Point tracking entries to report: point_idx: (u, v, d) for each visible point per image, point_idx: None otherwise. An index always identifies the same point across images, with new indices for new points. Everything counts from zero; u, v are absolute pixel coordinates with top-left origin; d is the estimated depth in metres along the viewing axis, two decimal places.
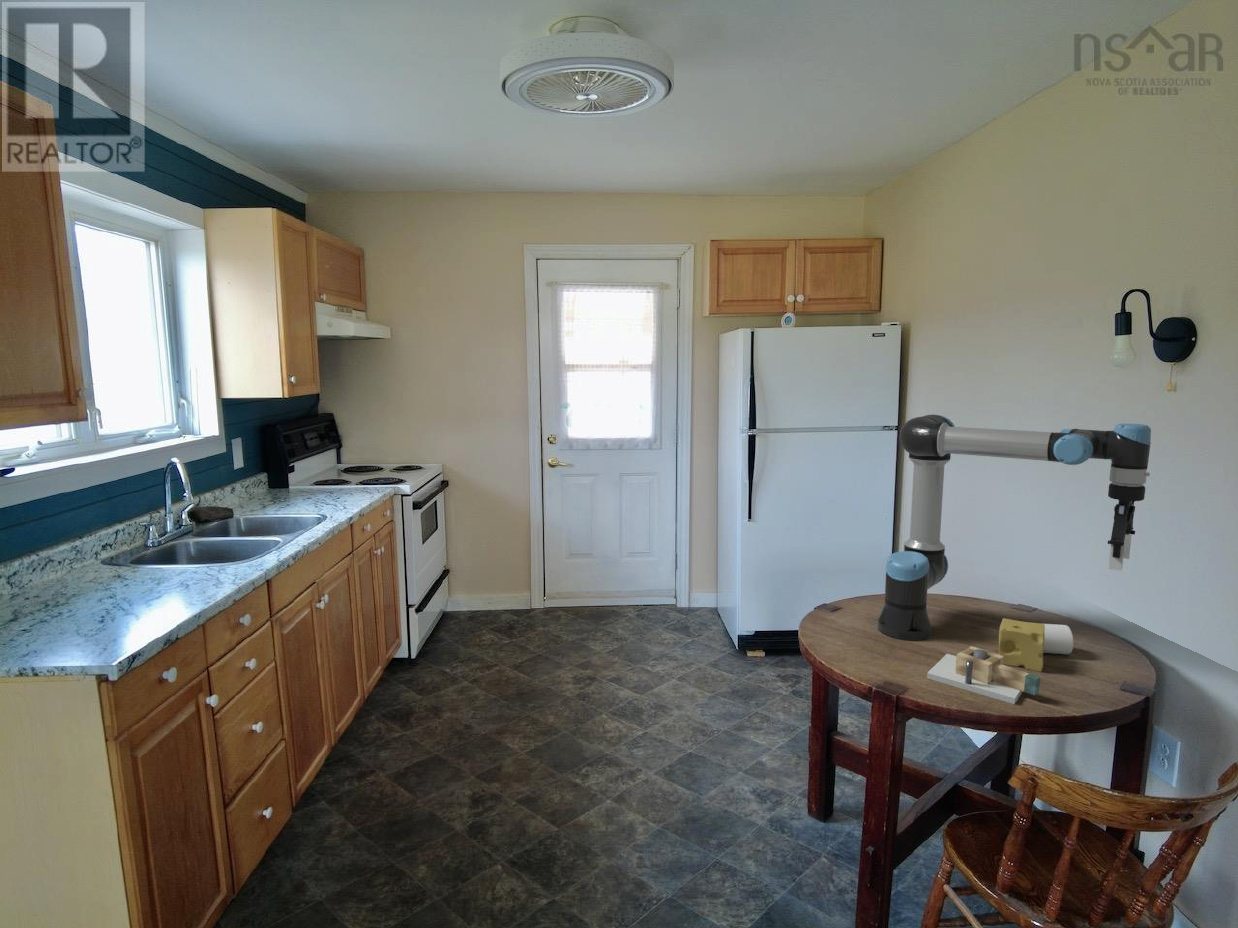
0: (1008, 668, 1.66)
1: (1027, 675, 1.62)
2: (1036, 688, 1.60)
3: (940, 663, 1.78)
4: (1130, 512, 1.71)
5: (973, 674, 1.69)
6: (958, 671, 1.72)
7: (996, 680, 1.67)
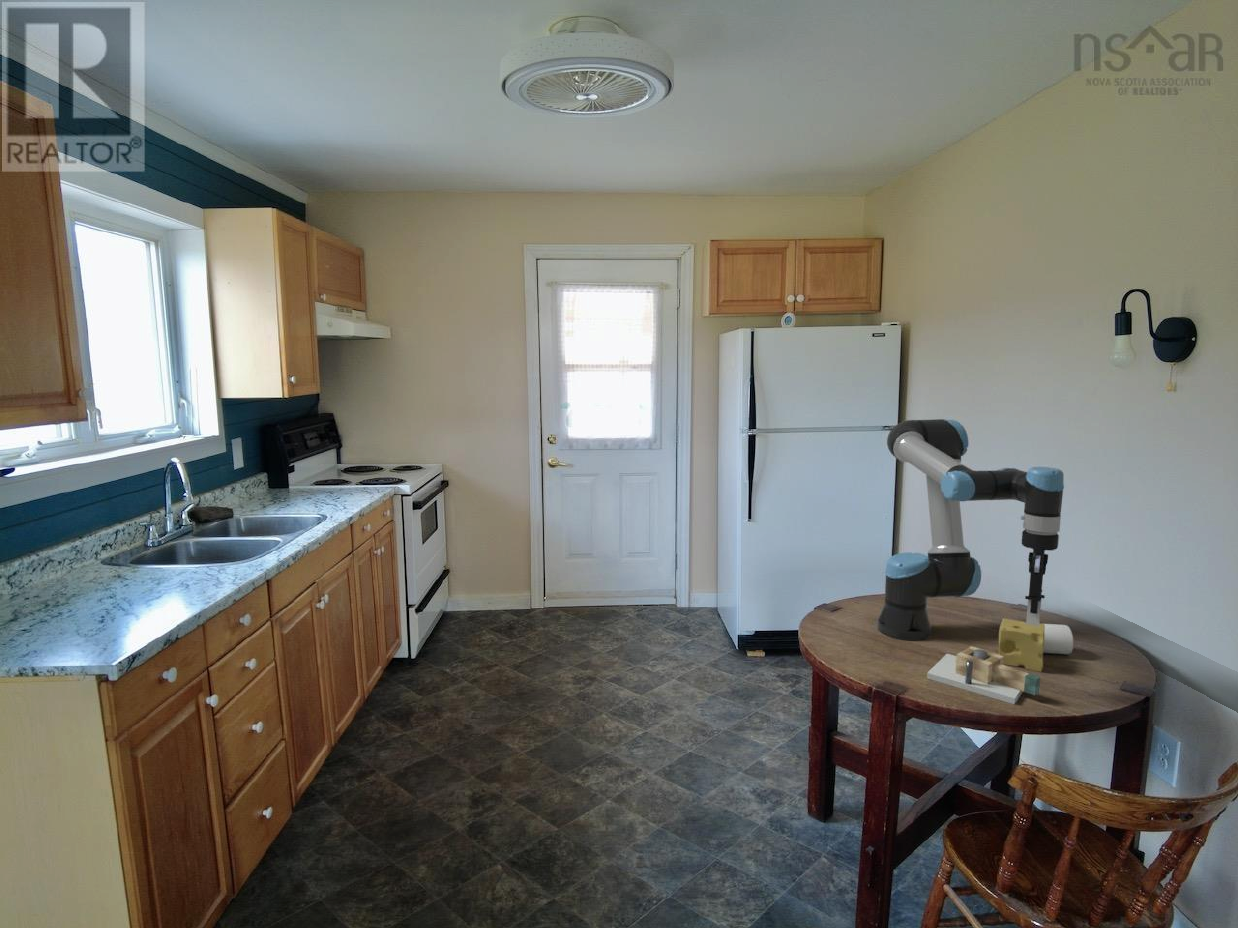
0: (1008, 668, 1.66)
1: (1027, 675, 1.62)
2: (1036, 688, 1.60)
3: (940, 663, 1.78)
4: None
5: (973, 674, 1.69)
6: (958, 671, 1.72)
7: (996, 680, 1.67)
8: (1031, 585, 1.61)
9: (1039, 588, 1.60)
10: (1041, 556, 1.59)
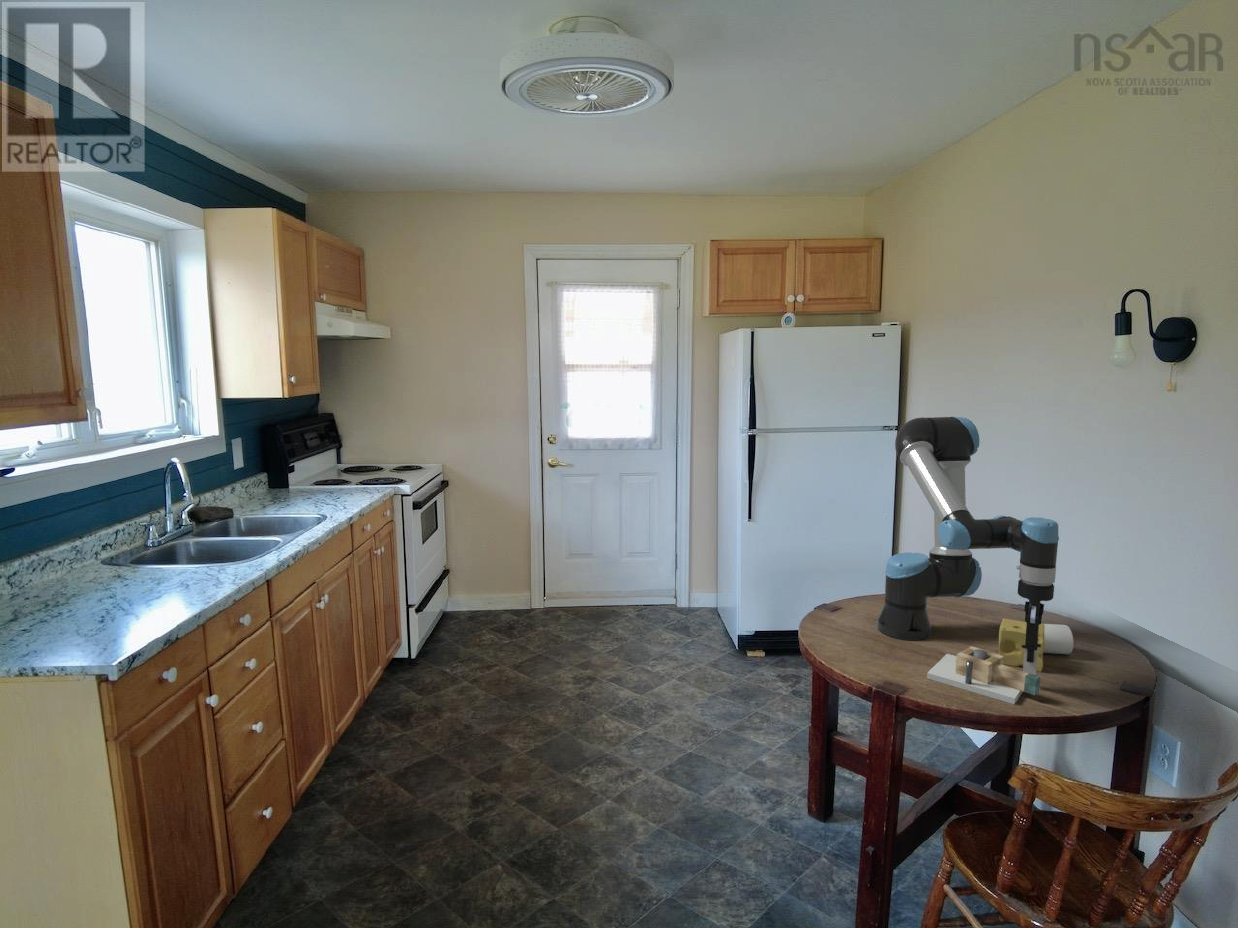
0: (1008, 668, 1.66)
1: (1027, 675, 1.62)
2: (1036, 688, 1.60)
3: (940, 663, 1.78)
4: None
5: (973, 674, 1.69)
6: (958, 671, 1.72)
7: (996, 680, 1.67)
8: (1027, 635, 1.63)
9: (1035, 638, 1.62)
10: (1037, 607, 1.61)
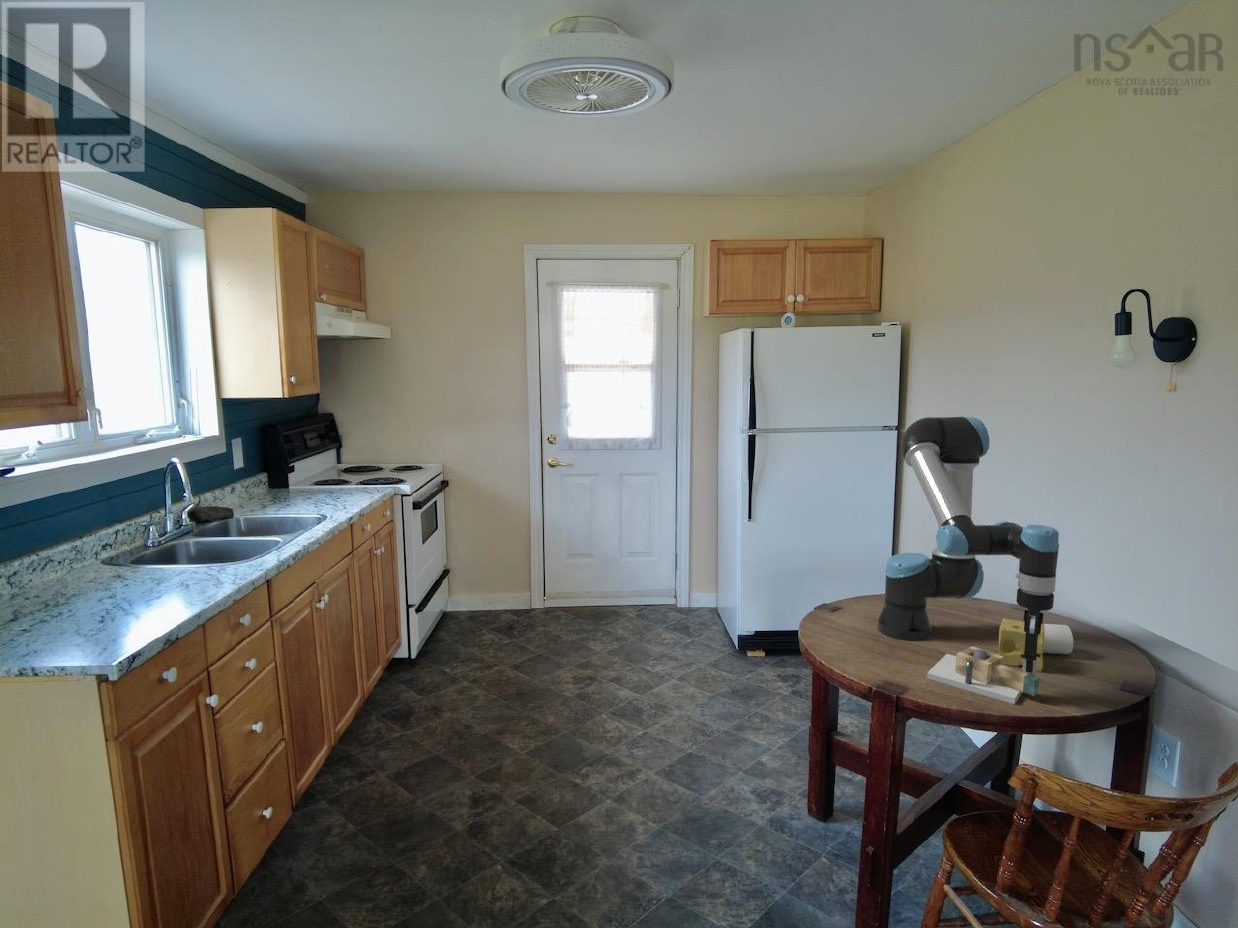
0: (1008, 668, 1.66)
1: (1026, 675, 1.62)
2: (1035, 689, 1.60)
3: (940, 663, 1.78)
4: None
5: (972, 674, 1.69)
6: (958, 670, 1.72)
7: (995, 680, 1.67)
8: (1026, 645, 1.59)
9: (1034, 648, 1.58)
10: (1036, 617, 1.57)
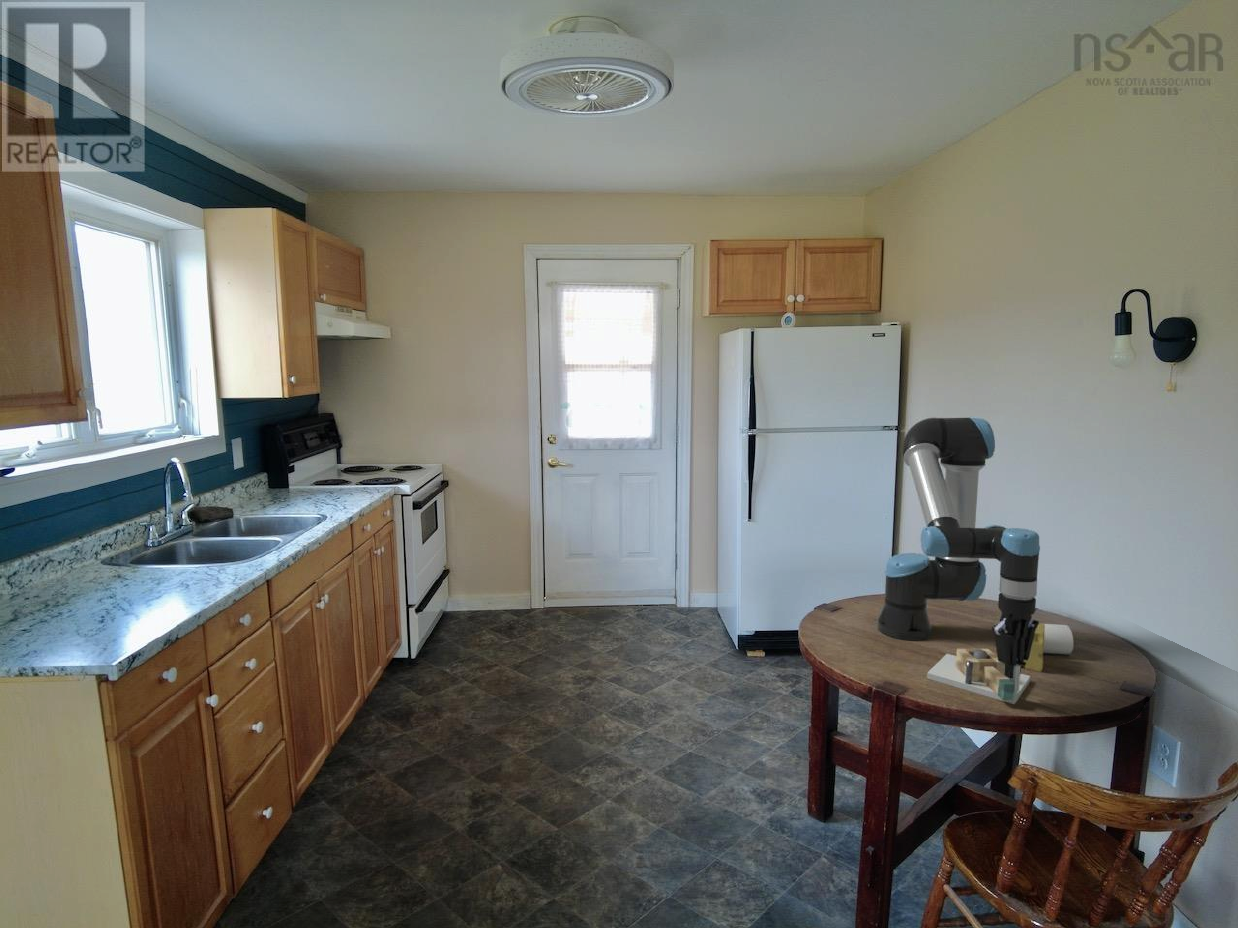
0: (994, 671, 1.64)
1: (1002, 679, 1.60)
2: (1006, 693, 1.58)
3: (940, 663, 1.78)
4: None
5: (964, 670, 1.71)
6: (957, 665, 1.75)
7: (984, 681, 1.67)
8: (997, 647, 1.58)
9: (1004, 651, 1.57)
10: (1006, 619, 1.56)
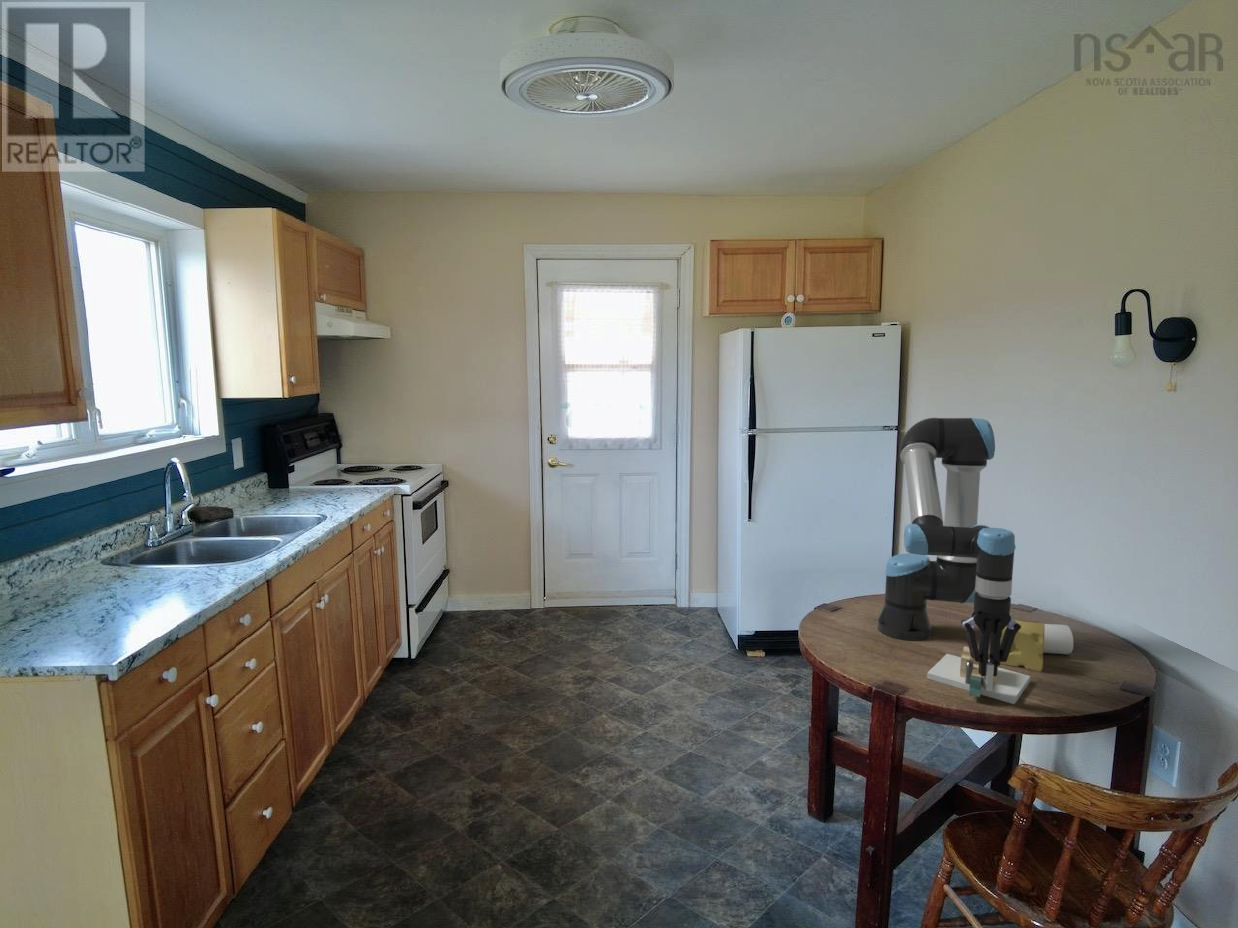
0: (977, 669, 1.65)
1: (974, 675, 1.62)
2: (972, 689, 1.60)
3: (940, 663, 1.78)
4: None
5: None
6: None
7: None
8: (968, 642, 1.61)
9: (971, 647, 1.59)
10: (974, 616, 1.58)
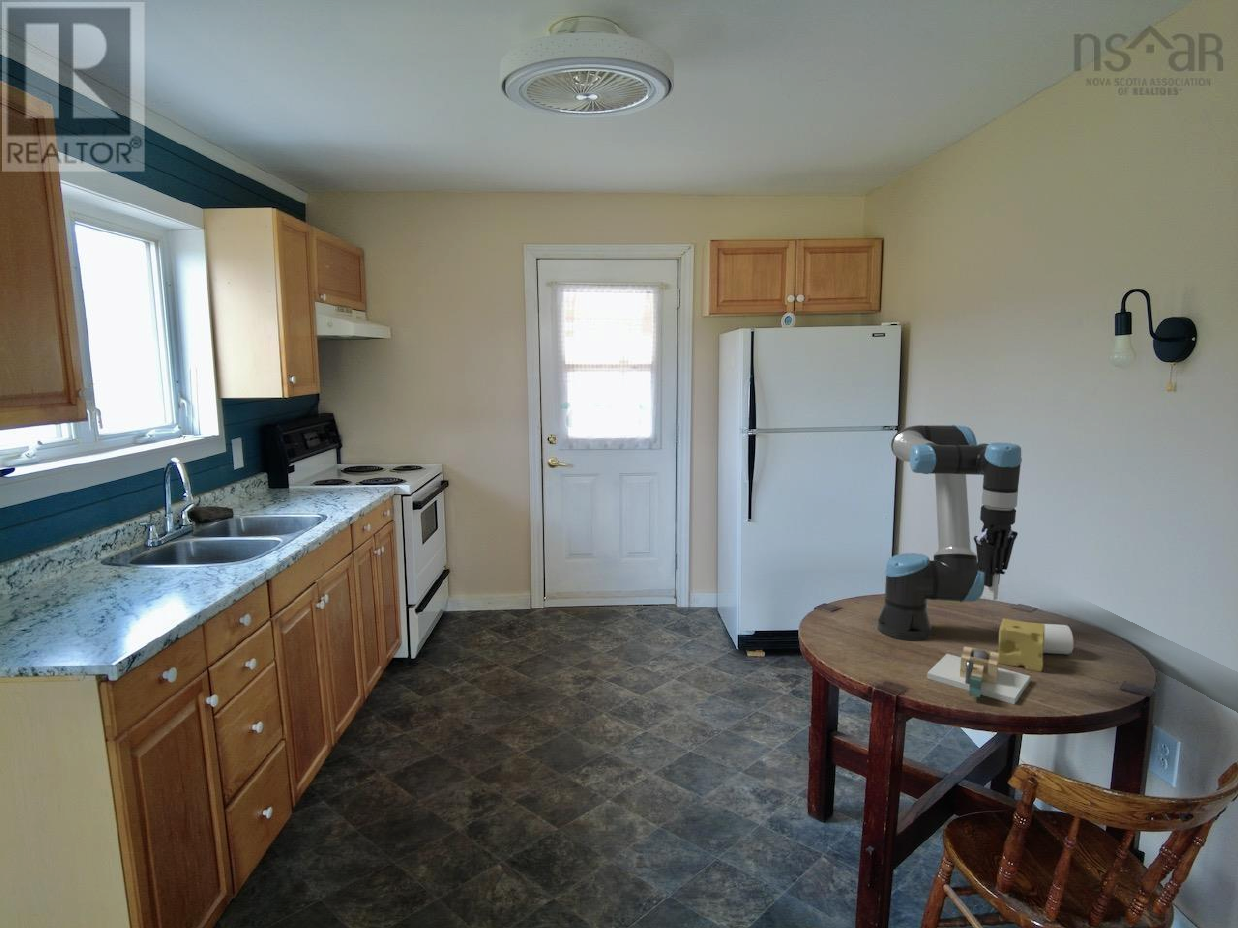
0: (977, 669, 1.65)
1: (974, 675, 1.62)
2: (972, 689, 1.60)
3: (940, 663, 1.78)
4: None
5: None
6: None
7: None
8: (978, 557, 1.65)
9: (984, 561, 1.63)
10: (987, 530, 1.62)
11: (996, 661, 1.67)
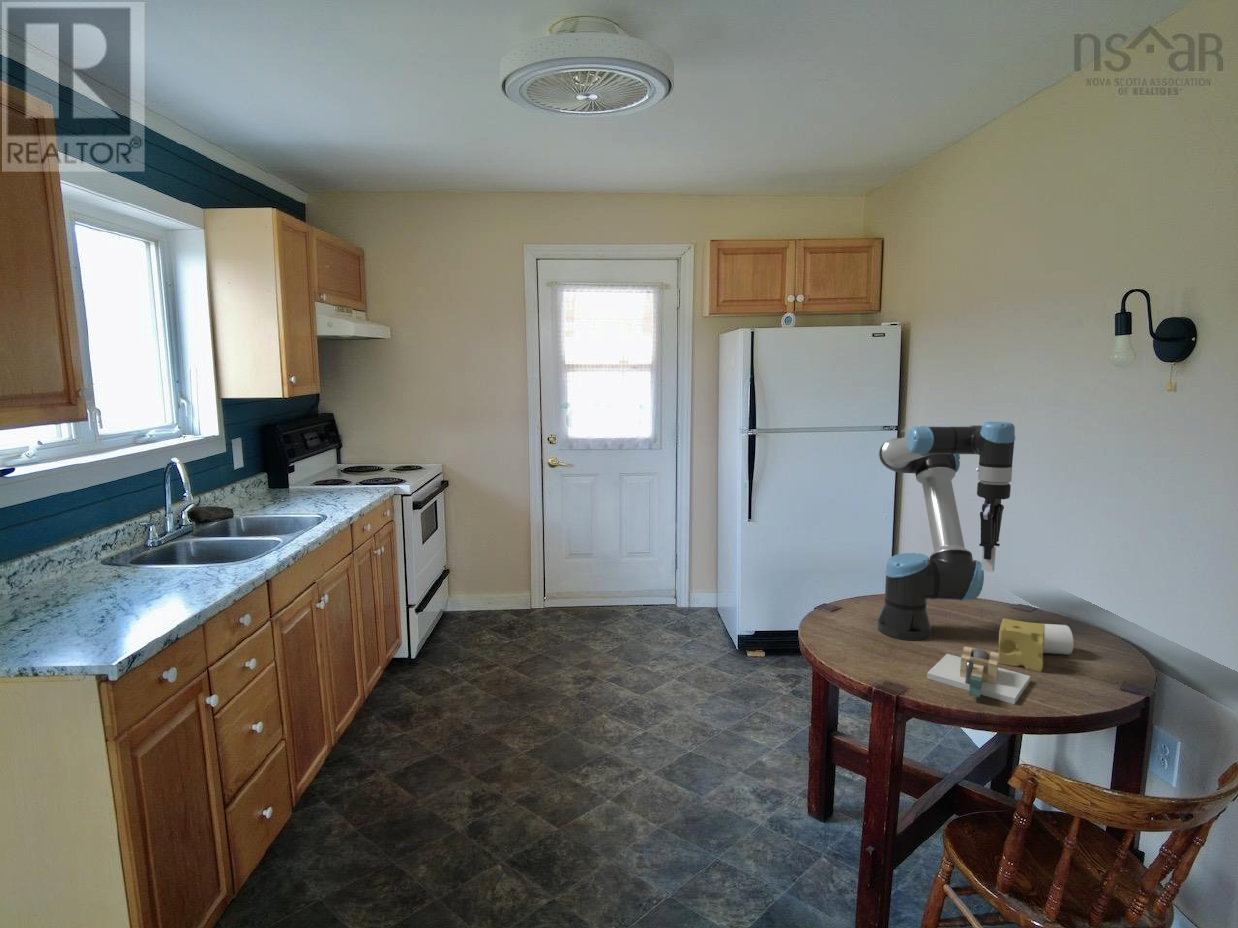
0: (977, 669, 1.65)
1: (974, 675, 1.62)
2: (972, 689, 1.60)
3: (940, 663, 1.78)
4: None
5: None
6: None
7: None
8: (982, 531, 1.72)
9: (989, 534, 1.71)
10: (991, 504, 1.70)
11: (996, 661, 1.67)
